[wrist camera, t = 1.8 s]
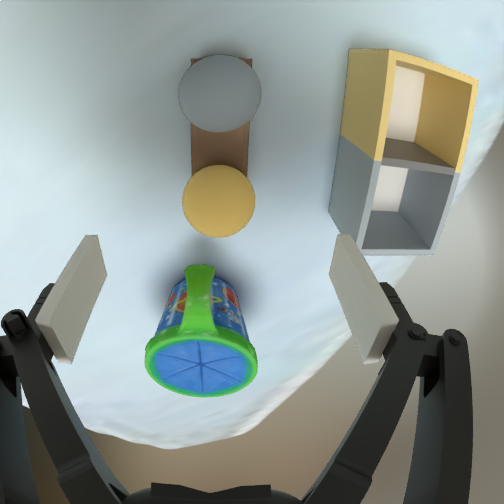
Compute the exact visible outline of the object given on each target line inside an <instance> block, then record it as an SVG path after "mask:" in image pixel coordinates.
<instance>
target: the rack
mask: <svg viewBox="0 0 504 504" xmlns="http://www.w3.org/2000/svg"><path fill="white" fill-rule="evenodd" d="M201 59H203V58H198V59H191V66H192V65H193V64H194V63H196V62H197V61H199V60H201ZM238 59H240V60H242V61H244V62H245V63H247V64H248V65H249V66H250V67H251V68H252V59H245V58H238ZM248 140H249V121H248V122H246V123H245V124H244V125H242V126H240V127H239V128H237V129H234V130H231V131H227V132H210V131H206V130H203V129H201V128H199V127H197V126H195V125H194V124H193V123H191V162H192V176H193V175H194V174H195V173H197V172H198V171H199V170H201V169H203V168H205V167H208V166H212V165H226V166H230V167H233V168H235V169H237V170H239V171H240V172H241V173H243V174H244V175H245V176H246V177H247V164H248Z"/></svg>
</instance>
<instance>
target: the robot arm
mask: <svg viewBox="0 0 504 504" xmlns="http://www.w3.org/2000/svg"><path fill="white" fill-rule="evenodd" d="M329 276H330V279H331V281H332V284H333V286H334V289H335V291H336V294H337V296H338V299H339V301H340V304H341V306H342V309H343V311H344V314H345V316H346V319H347V322H348V324H349V327H350V329H351V332H352V335H353V337H354V340H355V343H356V345H357V348H358V350H359V353H360V356H361V358H362V362H363V364H369V363H377V362H379V360H380V358H381V356H382V354H383V356H384V358H385V363H384V364H383V366H382V368H381V370H380V372H379V373H378V377H377V379H376V381H375V383H374V385H373V387H372V389H371V391H370V392H369V394H368V396H367V398H366V400H365V402H364V404H363V406H362V407H361V409H360V411H359V413H358V415H357V416H356V418H355V420H354V422H353V423H352V425H351V427H350V429H349V430H348V432H347V434H346V435H345V437H344V439H343V440H342V442H341V443H340V445H339V447H338V448H337V450H336V452H335V453H334V455H333V456H332V458H331V459H330V461H329V462H328V464H327V465H326V467H325V469H324V470H323V471H322V473H321V474H320V476H319V477H318V478H317V480H316V481H315V483H314V484H313V486H311V488H310V489H309V490H308V492H307V493H306V494H305V496H304V497H303V498H302V500H301V501H300V500H299V499H297V498H296V497H294V496H291V495H290V494H287V493H284V492H281V491H277V490H271V486H270V485H255V486H240V487H235V488H231V489H227V490H223V491H219V492H214V493H207V492H203V491H199V490H196V489H192V488H188V487H185V486H181V485H172V484H161V483H151V488H147V489H143V490H140V491H137V492H135V493H133V494H131V495H130V494H129V493H128V491H127V490H126V489H125V488H124V487H123V485H122V484H121V483H120V482H119V481H118V480H117V478H116V477H115V476H114V474H113V473H112V472H111V470H110V468H109V467H108V465H107V464H106V462H105V461H104V459H103V458H102V456H101V454H100V453H99V451H98V450H97V448H96V447H95V445H94V443H93V442H92V440H91V438H90V436H89V435H88V433H87V431H86V429H85V428H84V426H83V424H82V422H81V420H80V418H79V417H78V415H77V413H76V411H75V409H74V407H73V405H72V403H71V401H70V399H69V397H68V395H67V393H66V391H65V389H64V387H63V385H62V383H61V381H60V378H59V376H58V374H57V372H56V369H55V367H54V365H53V363H52V361H51V359H52V357H53V354H54V356H55V357H56V359H57V361H58V362H61V363H68V364H72V362H73V359H74V356H75V353H76V351H77V348H78V345H79V342H80V340H81V337H82V335H83V332H84V329H85V327H86V324H87V322H88V319H89V317H90V314H91V312H92V309H93V307H94V305H95V302H96V300H97V298H98V295H99V293H100V291H101V288H102V286H103V284H104V281H105V279H106V277H107V272H106V268H105V264H104V260H103V256H102V252H101V248H100V244H99V239H98V235H85V237H84V238H83V240H82V241H81V243H80V244H79V246H78V247H77V249H76V250H75V252H74V254H73V255H72V257H71V258H70V260H69V262H68V263H67V265H66V266H65V268H64V270H63V271H62V273H61V275H60V276H59V278H58V280H57V281H56V283H55V284H54V283H50V284H49V285H48V286H46V287H45V288H44V289H43V290H42V292H41V294H40V295H39V298H38V299H37V301H36V302H35V304H34V306H33V308H32V309H31V311H30V313H29V315H28V317H26V315H25V313H24V312H23V311H22V310H20V309H15V310H12V311H10V312H8V313H7V314H6V315H5V316H4V317H3V318H2V321H1V327H2V328H3V330H4V332H5V333H6V335H5V336H0V504H40V500H39V497H38V493H37V489H36V485H35V481H34V476H33V472H32V467H31V462H30V457H29V452H28V445H27V439H26V433H25V426H24V417H23V407H22V396H21V384H22V387H23V390H24V393H25V396H26V399H27V402H28V404H29V407H30V410H31V413H32V415H33V417H34V420H35V423H36V425H37V428H38V430H39V432H40V435H41V437H42V439H43V441H44V444H45V446H46V448H47V450H48V452H49V454H50V456H51V459H52V460H53V463H54V464H55V466H56V468H57V471H58V474H57V480H58V482H59V484H60V486H61V488H62V490H63V491H64V493H65V495H66V497H67V498H68V500H69V502H70V504H360V503H361V500H362V499H363V498H364V496H365V494H366V493H367V491H368V489H369V487H370V485H371V482H372V475H373V473H374V471H375V469H376V467H377V465H378V463H379V461H380V459H381V457H382V455H383V453H384V451H385V449H386V447H387V445H388V443H389V441H390V439H391V437H392V434H393V432H394V430H395V428H396V426H397V424H398V421H399V419H400V417H401V414H402V412H403V409H404V407H405V405H406V402H407V400H408V397H409V394H410V392H411V389H412V387H413V384H414V381H415V378H416V376H420V393H419V405H418V417H417V425H416V434H415V442H414V448H413V455H412V462H411V467H410V473H409V479H408V483H407V489H406V493H405V498H404V502H403V504H468V499H469V490H470V480H471V468H472V448H473V406H472V386H471V373H470V363H469V353H468V345H467V340H466V338H465V336H464V335H463V334H462V333H461V332H460V331H458V330H455V329H448V330H446V331H445V332H444V333H443V335H442V336H437V335H431V334H428V333H427V331H426V329H425V328H424V327H422V326H421V325H419V324H416V323H413V321H412V319H411V317H410V316H409V314H408V312H407V310H406V309H405V307H404V305H403V304H402V302H401V300H400V298H399V297H398V295H397V293H396V291H395V290H394V288H393V287H391V286H390V285H389V284H388V283H387V282H381V283H378V281H377V279H376V277H375V275H374V274H373V272H372V270H371V269H370V267H369V265H368V263H367V262H366V260H365V258H364V257H363V255H362V253H361V252H360V250H359V248H358V247H357V245H356V243H355V242H354V240H353V238H352V237H351V235H342V234H337V239H336V244H335V249H334V253H333V258H332V263H331V267H330V272H329Z"/></svg>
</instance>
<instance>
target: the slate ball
mask: <svg viewBox="0 0 504 504" xmlns="http://www.w3.org/2000/svg"><path fill="white" fill-rule="evenodd" d="M178 97H179V103H180V107H181V109H182V111H183V113H184V115H185V116H186V117H187V119H188V120H189V121H190V122H191V123H193V124H194V125H195V126H197V127H199V128H201V129H203V130H206V131H210V132H227V131H231V130H234V129H237V128H239V127H240V126H242V125H244V124H245V123H246V122H248V121H249V120H250V119H251V118H252V116H253V115H254V114H255V112H256V110H257V108H258V106H259V103H260V98H261V87H260V83H259V80H258V77H257V75H256V74H255V72H254V70H253V69H252V68H251V67H250V66H249V65H248V64H247V63H245V62H244V61H242V60H240V59H238V58H236V57H233V56H229V55H213V56H208V57H205V58H203V59H201V60H199V61H197V62H196V63H194V64H193V65H192V66H191V67H190V68H189V69H188V70H187V71H186V73H185V74H184V76H183V78H182V80H181V82H180V86H179V92H178Z"/></svg>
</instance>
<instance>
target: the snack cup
mask: <svg viewBox="0 0 504 504" xmlns="http://www.w3.org/2000/svg"><path fill="white" fill-rule="evenodd" d="M184 272H185V277H186V279H185V280H183V281H181V282H180V283H179V284H178V285H176V286H175V288H174V289H173V291H172V293H171V295H170V297H169V300H168V303H167V305H166V308H165V311H164V313H163V315H162V318H161V320H160V323H159V325H158V328H157V331H156V333H155V336H154V337H153V338H151V339H150V341H149V342H148V343H147V345H146V348H145V351H146V354H145V367H146V370H147V372H148V374H149V375H150V376H151V377H152V379H153V380H155V381H156V382H157V383H158V384H160V385H161V386H163V387H164V388H167V389H168V390H171V391H173V392H176V393H179V394H182V395H187V396H193V397H218V396H224V395H228V394H232V393H234V392H237V391H239V390H241V389H243V388H244V387H246V386H247V385H248V384H250V383H251V382H252V381H253V379H254V378H255V376H256V374H257V356H256V352H255V348H254V347H253V345H252V344H251V343H250V341H249V337H248V333H247V330H246V326H245V322H244V319H243V316H242V312H241V309H240V305H239V302H238V297H237V295H236V293H235V291H234V289H233V288H232V286H231V285H228V284H227V283H225V282H224V281H222V280H220V279H218V278H215V277H214V275H215V269H214V267H212V266H209V265H205V264H203V265H191V266H188V267H186V269H185V271H184Z"/></svg>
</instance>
